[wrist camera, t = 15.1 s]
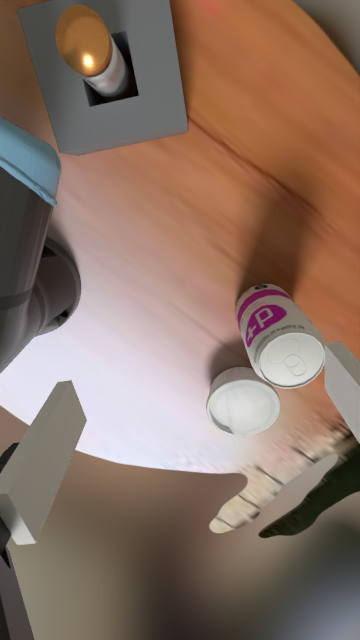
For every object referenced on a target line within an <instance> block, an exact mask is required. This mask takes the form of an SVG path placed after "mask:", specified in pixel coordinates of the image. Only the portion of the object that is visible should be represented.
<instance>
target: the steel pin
mask: <svg viewBox="0 0 360 640" xmlns="http://www.w3.org/2000/svg"><path fill="white" fill-rule="evenodd" d="M55 34H56V44H57V48H58V50H59V53H60V55H61V57H62V58H63V60H64V61H65V62H66V63H67V64H68V65H69V66H70V67H71V68H72V69H73V70H74V71H75V72H76V73H77V74H78V75H80V76H81V77H82V78H83V79H84V80H85V81H86V82H87V83H88V84H89V85H90V86H91V87H93V88H94V89H95V90H96V91H97V92H98V93H99V94H100V95H101V96H102V97H103V98H104V99H106V100H107V101H108V102H109V103H110V102H114V101H118V100H123V99H127V98H131V97H134V95H135V91H136V84H135V79H134V77H133V75H132V73H131V71H130V69H129V68H128V66H127V64H126V62H125V60H124V58H123V57H122V55H121V53H120V51H119V49H118V48H117V46H116V44H115V42H114V40H113V38H112V37H111V35H110V33H109V31H108V29H107V27H106V26H105V24H104V22H103V20H102V19H101V17H100V16H99V15H98V14H97V13H96V12H95V11H94V10H93V9H91V8H89V7H87V6H84V5H73V6H71V7H69V8H67V9H66V10H65V11H64V12H63V13H62V14H61V16H60V17H59V19H58V22H57V26H56V33H55Z"/></svg>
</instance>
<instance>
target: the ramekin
mask: <svg viewBox="0 0 360 640" xmlns="http://www.w3.org/2000/svg"><path fill="white" fill-rule="evenodd" d="M206 409H207V415H208V417H209V420H210V421H211V423H212V424H213V425H214V426H215V427H216V428H218V429H219V430H220V431H222V432H224V433H227V434H230V435H234V436H249V435H254V434H257V433H259V432H262V431H264V430H265V429H267V428H268V427H270V426H271V425H272V424H273V423H274V421H275V420H276V419H277V417H278V415H279V412H280V399H279V397H278V394H277V392H276V391H275V389H274V388H273V387H272V386H271V385H270V384H269V383H268V382H267V381H265V380H264V379H262V378H261V377H260V376H258V375H257V374H256V372H255V370H254V369H251V368H248V367H234V368H230V369H227V370H225V371H223V372H222V373H220V374H219V375H218V376H217V377H216V378H215V380H214V381H213V383H212V385H211V388H210V393H209V396H208V399H207V404H206Z"/></svg>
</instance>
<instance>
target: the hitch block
mask: <svg viewBox="0 0 360 640" xmlns="http://www.w3.org/2000/svg"><path fill="white" fill-rule="evenodd" d="M73 5H84V6H87V7H89V8H91V9H93V10H94V11H95V12H96V13H97V14H98V15H99V16H100V17H101V19H102V20H103V22H104V24H105V26H106V27H107V29H108V31H109V33H110V35H111V37H112V38H113V40H114V42H115V44H116V46H117V48H118V49H119V51H120V53H121V55H122V56H124V55H129V54H131V58H132V63H133V68H134V73H135V78H136V83H137V88H138V93H139V96H136V97H131V98H127V99H123V100H118V101H114V102H110V103H105V104H100V100H99V96H98V92H97V91H96V90H95V89H94V88H93V87H91V86H90V85H89V84H88V83H87V82H86V81H85V80H84V79H83V78H82V77H81V76H80V75H78V74H77V73H76V72H75V71H74V70H73V69H72V68H71V67H70V66H69V65H68V64H67V63H66V62H65V61H64V60H63V58H62V57H61V55H60V53H59V50H58V48H57V44H56V34H55V33H56V26H57V22H58V19H59V17H60V16H61V14H62V13H63V12H64V11H65V10H66V9H67V8H69V7H71V6H73ZM17 12H18V15H19V18H20V22H21V25H22V28H23V32H24V35H25V39H26V42H27V45H28V49H29V52H30V55H31V59H32V62H33V65H34V69H35V72H36V75H37V79H38V82H39V85H40V89H41V92H42V95H43V99H44V102H45V105H46V109H47V112H48V115H49V119H50V122H51V126H52V129H53V132H54V136H55V139H56V142H57V146H58V149H59V152H60V153H64V154H69V155H75V156H79V155H84V154H88V153H93V152H98V151H102V150H107V149H112V148H116V147H121V146H126V145H130V144H135V143H140V142H144V141H149V140H154V139H158V138H163V137H168V136H173V135H177V134H182V133H187V132H188V122H187V116H186V109H185V102H184V96H183V89H182V82H181V75H180V69H179V62H178V55H177V49H176V42H175V35H174V28H173V22H172V15H171V8H170V2H169V0H50V1H46V2H42V3H38V4H35V5H31V6H27V7H23V8H19V9H17Z"/></svg>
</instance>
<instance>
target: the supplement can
mask: <svg viewBox="0 0 360 640" xmlns="http://www.w3.org/2000/svg"><path fill="white" fill-rule="evenodd" d="M235 314H236V320H237V323H238V326H239V329H240V332H241V335H242V338H243V341H244V344H245V347H246V350H247V353H248V356H249V359H250V362H251V365H252V367H253V369H254V370H255V372H256V374H257V375H258V376H260V377H261V378H262V379H264V380H265V381H267V382H269V383H270V384H271V385H273V386H276V387H279V388H296V387H300V386H304V385H306V384H307V383H309V382H311V381H312V380H314V379H315V378H316V376H317V375H318V374H319V373H320V372H321V370H322V368H323V366H324V363H325V342H324V339H323V337H322V335H321V333H320V332H319V331H318V329H317V328H316V327H315V326H314V325H313V323H312V322H311V321H310V320H309V319H308V318H307V316H306V315H305V314H304V313H303V312H302V310H301V309H300V308H299V307H298V306H297V304H296V303H295V302H294V301H293V300H292V299H291V297H290V296H289V295H288V294H287V293H286V292H285V291H284V290H283V289H282V288H281V287H278V286H276V285H273V284H259V285H256V286H253V287H251V288H249V289H248V290H247V291H245V292H244V293H243V294H242V295H241V297H240V298H239V300H238V301H237V305H236V308H235Z"/></svg>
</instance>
